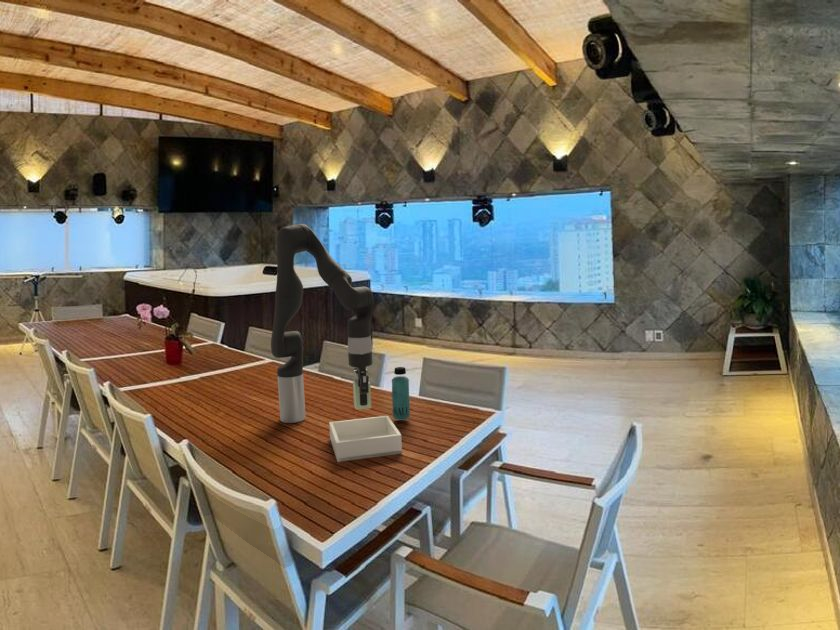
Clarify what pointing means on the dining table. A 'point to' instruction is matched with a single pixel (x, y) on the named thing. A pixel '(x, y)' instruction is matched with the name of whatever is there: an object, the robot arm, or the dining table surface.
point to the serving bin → (364, 438)
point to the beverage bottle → (400, 395)
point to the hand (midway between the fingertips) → (362, 402)
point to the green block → (357, 397)
